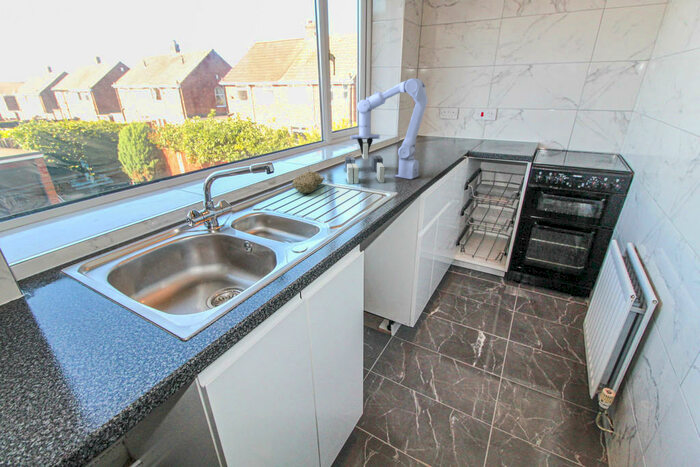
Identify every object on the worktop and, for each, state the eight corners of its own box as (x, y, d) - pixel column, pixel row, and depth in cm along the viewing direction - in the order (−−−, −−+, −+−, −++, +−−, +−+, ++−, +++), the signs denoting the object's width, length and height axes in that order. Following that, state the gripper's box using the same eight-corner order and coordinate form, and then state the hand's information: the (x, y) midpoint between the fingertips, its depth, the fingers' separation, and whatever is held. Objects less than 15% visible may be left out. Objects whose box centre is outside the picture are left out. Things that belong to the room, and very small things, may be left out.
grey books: (379, 167, 183) (380, 155, 181) (382, 170, 175) (382, 158, 172) (345, 168, 182) (344, 156, 179) (346, 172, 174) (346, 159, 171)
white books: (381, 177, 162) (381, 162, 159) (384, 182, 154) (384, 166, 151) (347, 178, 161) (346, 163, 158) (348, 183, 153) (348, 167, 149)
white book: (366, 156, 173) (366, 141, 170) (368, 159, 165) (368, 144, 162) (361, 156, 173) (361, 141, 170) (363, 159, 165) (363, 144, 162)
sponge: (305, 185, 156) (280, 187, 138) (309, 169, 153) (283, 169, 136) (329, 193, 151) (306, 196, 133) (333, 176, 149) (310, 178, 131)
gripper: (378, 124, 166) (377, 151, 172) (349, 125, 166) (350, 152, 171) (380, 126, 160) (379, 154, 166) (350, 126, 159) (351, 155, 165)
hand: (364, 153), depth 168 cm, fingers closed on white book, 2 cm apart
